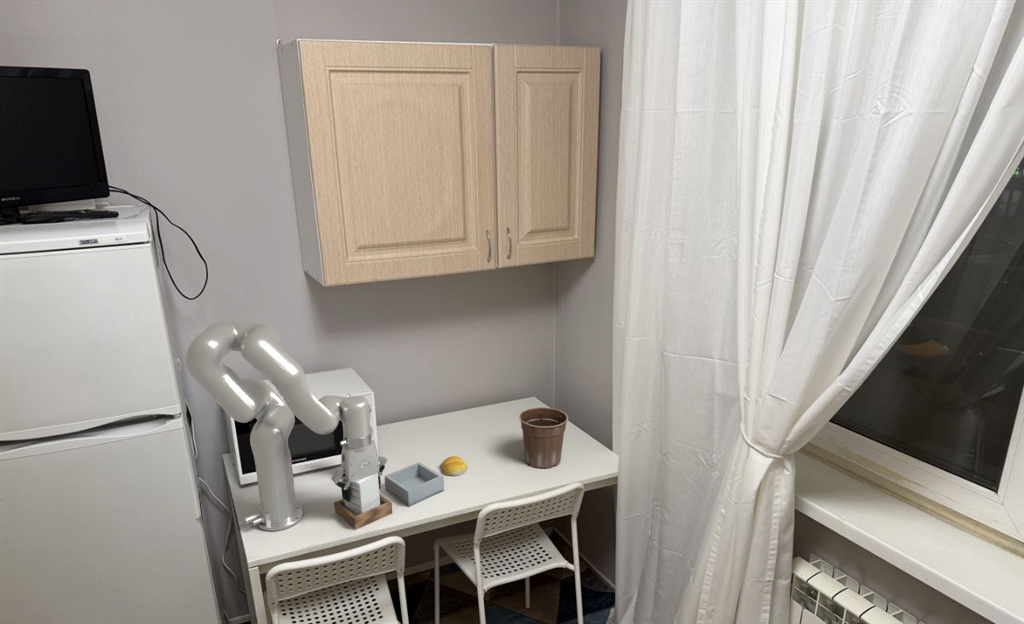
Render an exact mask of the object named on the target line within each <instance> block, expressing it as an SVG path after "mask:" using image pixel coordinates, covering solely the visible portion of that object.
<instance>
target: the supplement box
mask: <svg viewBox="0 0 1024 624" xmlns="http://www.w3.org/2000/svg"><path fill="white" fill-rule="evenodd" d="M341 477H342V476H341ZM342 479H343V477H342ZM342 479H341V480H342ZM348 488H349V489H350V498H351V501H350V502H347V501H346V500H345V499H344V500H345V508H347V509H348V510H349V511H350V512H352V513H353V514H354V515H355V516H357V515H359V514H362V513H364V512H366V511H369V510H371V509H373V508H376V507H378V506H380V496H379V494H380V489H379V483H378V473H376V474H374V475H372V476H369V477H367V478H364V479H362V480H359V481H356V482H354V483H350V485H349V487H348Z"/></svg>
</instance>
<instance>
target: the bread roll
mask: <svg viewBox="0 0 1024 624" xmlns="http://www.w3.org/2000/svg"><path fill="white" fill-rule="evenodd" d="M440 467H441V469H442V473H443V474H444V475H445V476H450V477H457V476H458V477H459V476H461V475H462V474H464V473H465V472H467V470H468V465H467V463H466V462H465V460H464V459H463V458H461V457H460V456H456V455H454V456H453V455H452V456H449V457H447V458H445V459H443V461H442V462H441V466H440Z"/></svg>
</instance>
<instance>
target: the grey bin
mask: <svg viewBox="0 0 1024 624" xmlns="http://www.w3.org/2000/svg"><path fill="white" fill-rule="evenodd" d="M444 479H445V478H444V475H442V474H440V473H439V472H437V471H436V470H433V469H432V468H430V467H428V466H426V465H425V464H423V463H422V462H421V461H418V462H416V463H413V464H411V465H409V466H406V467H403V468H401V469H398V470H396V471H393V472H391V473H389V474H386V475H384V488H385V491H386V492H387V493H389V494H390V495H391V496H393V497H394V498H396V500H398V501H400V502H401V503H403V504H404V505H406V506H407V507H409V508H411V507H412V506H414V505H417V504H418V503H421V502H422V501H425V500H427V499H429V498H432V497H434V496H436V495H438V494H440V493H442V492H444V491H445V480H444Z"/></svg>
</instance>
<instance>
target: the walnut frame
mask: <svg viewBox="0 0 1024 624" xmlns="http://www.w3.org/2000/svg"><path fill="white" fill-rule="evenodd" d="M379 496H380V506H378V507H376V508H373V509H371V510H369V511H366V512H364V513H362V514H359V515H357V516H355V515H354V514H353V513H352V512H350V511H349V510H348V509H347V508H345V500H344V499H343V498H341V499H340V498H339V499H337V500H336V501H333V507H334V514H336V515H337V516H338V517H340V519H342V520H343V521H344V522H346V523H347V524H348V525H349V526H350V527H352V529H354V530H355V531H356V530H359V529H361V528H363V527H365V526H367V525H370V524H373V523H374V522H377V521H379V520H381V519H383V518H385V517H388V516H389V515H392V514H393V504H392V503H393V502H391V501H390V500H389V499H387V498H386V497H385V496H383V495H381V494H380V493H379Z"/></svg>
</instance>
